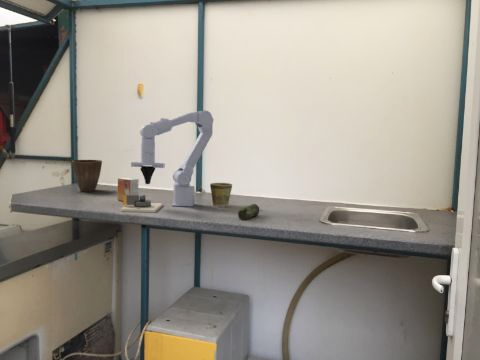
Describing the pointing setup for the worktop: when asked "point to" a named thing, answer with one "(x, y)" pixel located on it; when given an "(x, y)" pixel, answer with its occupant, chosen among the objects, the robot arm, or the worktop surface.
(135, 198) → the lever door handle
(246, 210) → the vegetable
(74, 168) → the plant pot
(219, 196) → the ceramic cup
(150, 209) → the console plate
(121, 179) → the small box
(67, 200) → the worktop surface
